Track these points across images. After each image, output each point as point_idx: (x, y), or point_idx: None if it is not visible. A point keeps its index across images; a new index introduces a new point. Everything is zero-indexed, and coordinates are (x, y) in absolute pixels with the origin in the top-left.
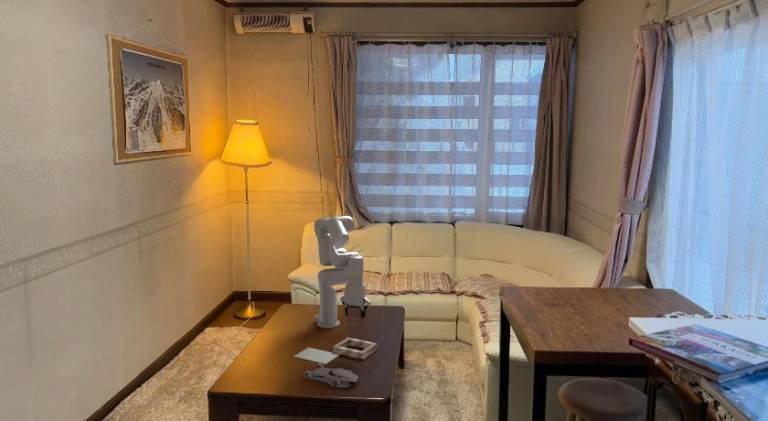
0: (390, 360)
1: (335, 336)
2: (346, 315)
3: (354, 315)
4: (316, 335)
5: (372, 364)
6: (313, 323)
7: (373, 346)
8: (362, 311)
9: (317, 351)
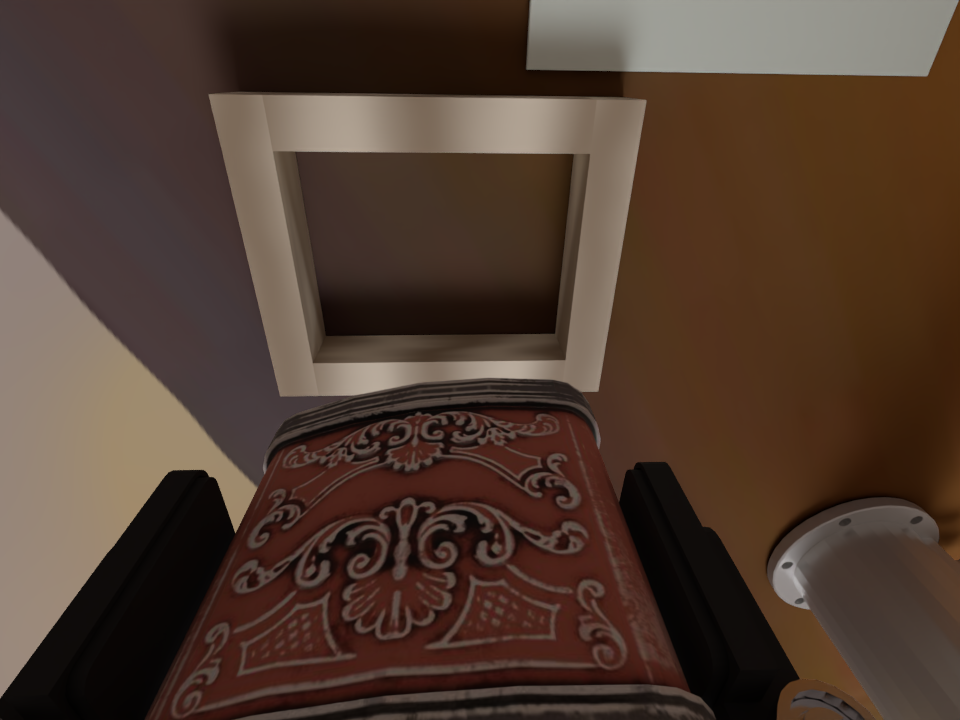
0: (19, 213)
1: (732, 421)
2: (641, 473)
3: (401, 503)
4: (895, 373)
5: (65, 14)
6: (957, 524)
7: (264, 324)
8: (46, 681)
9: (800, 15)
